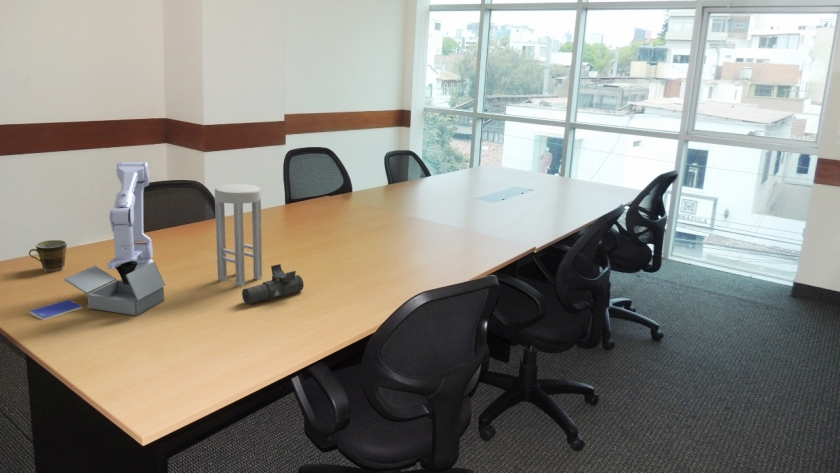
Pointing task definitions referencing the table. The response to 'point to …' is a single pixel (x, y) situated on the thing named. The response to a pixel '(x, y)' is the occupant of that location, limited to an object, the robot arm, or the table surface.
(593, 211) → the table surface
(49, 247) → the ceramic cup
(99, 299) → the carton
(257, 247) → the stool
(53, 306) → the hard drive
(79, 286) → the flap
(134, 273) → the flap
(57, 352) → the table surface
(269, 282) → the laser sight
